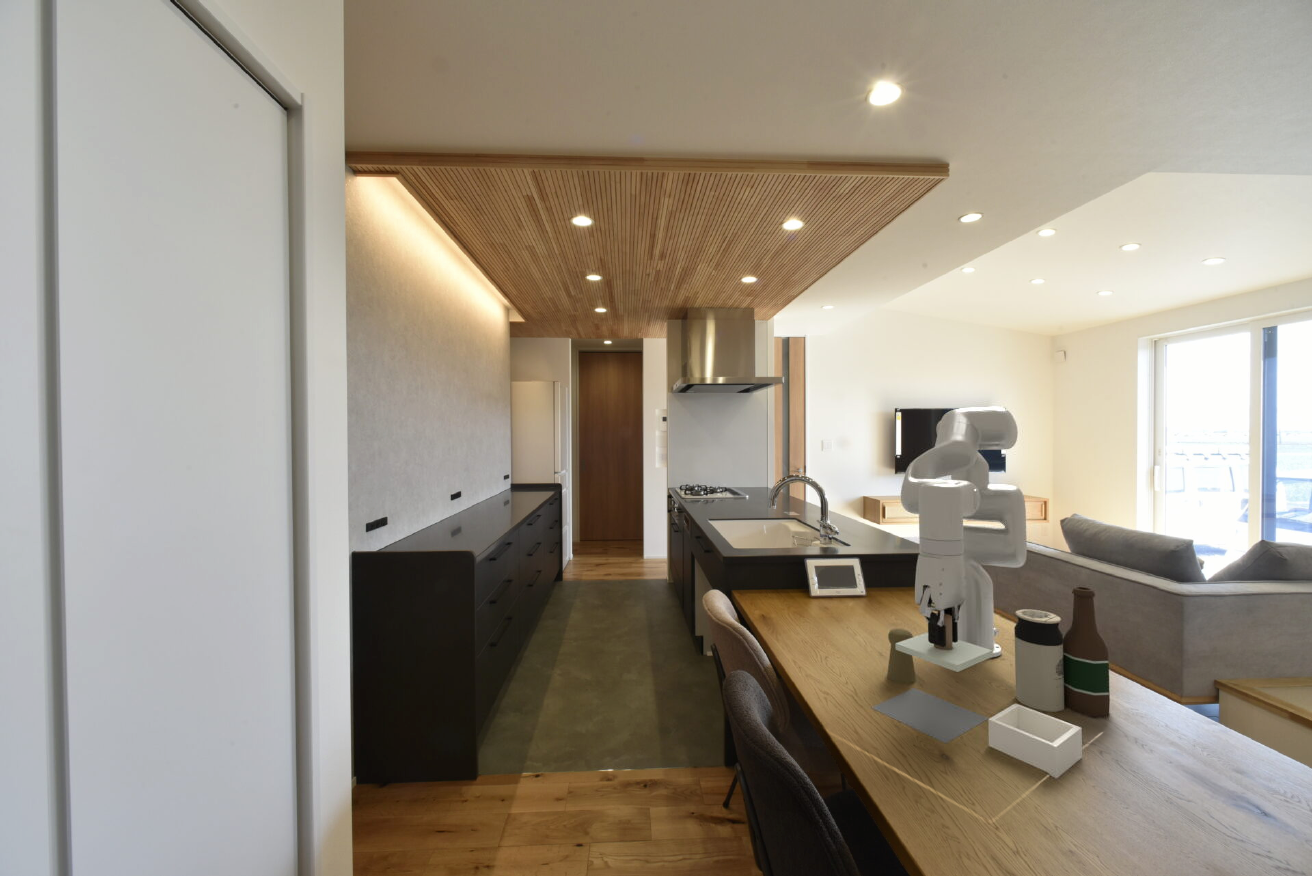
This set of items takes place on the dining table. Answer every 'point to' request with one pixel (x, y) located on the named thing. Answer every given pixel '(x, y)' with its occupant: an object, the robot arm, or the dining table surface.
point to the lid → (945, 650)
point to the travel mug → (1039, 660)
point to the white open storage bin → (1036, 739)
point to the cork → (900, 659)
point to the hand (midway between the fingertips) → (943, 641)
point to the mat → (930, 714)
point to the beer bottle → (1085, 660)
